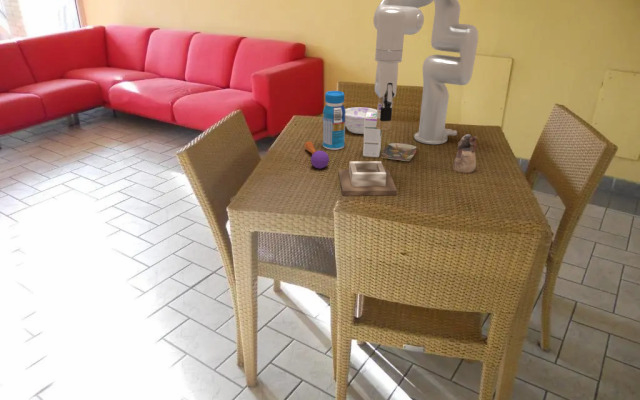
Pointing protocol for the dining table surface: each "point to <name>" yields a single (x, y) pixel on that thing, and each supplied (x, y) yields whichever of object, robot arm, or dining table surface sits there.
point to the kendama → (317, 156)
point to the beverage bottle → (334, 121)
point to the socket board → (366, 179)
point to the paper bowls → (356, 118)
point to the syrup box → (371, 136)
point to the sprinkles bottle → (380, 124)
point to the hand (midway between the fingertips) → (384, 117)
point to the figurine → (465, 155)
